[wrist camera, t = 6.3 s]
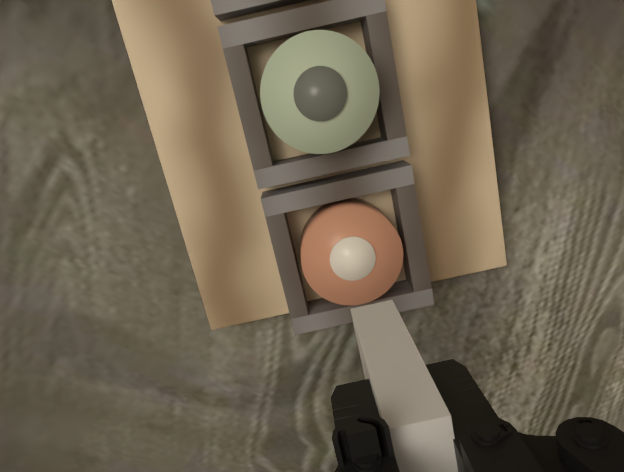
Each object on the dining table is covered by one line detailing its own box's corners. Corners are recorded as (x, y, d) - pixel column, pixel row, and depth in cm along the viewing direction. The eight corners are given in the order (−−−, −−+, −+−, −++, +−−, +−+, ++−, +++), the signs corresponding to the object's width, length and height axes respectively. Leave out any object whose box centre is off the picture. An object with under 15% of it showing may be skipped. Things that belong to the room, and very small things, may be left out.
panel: (218, 322, 32) (208, 353, 29) (87, -119, 26) (51, -156, 22) (494, 262, 32) (522, 285, 28) (437, -202, 25) (464, -255, 21)
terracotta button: (311, 297, 30) (313, 316, 27) (290, 209, 28) (290, 221, 26) (401, 277, 30) (411, 295, 27) (385, 188, 28) (394, 198, 26)
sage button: (277, 158, 26) (275, 166, 24) (251, 49, 25) (246, 44, 22) (380, 135, 26) (389, 140, 23) (360, 24, 24) (368, 16, 22)
